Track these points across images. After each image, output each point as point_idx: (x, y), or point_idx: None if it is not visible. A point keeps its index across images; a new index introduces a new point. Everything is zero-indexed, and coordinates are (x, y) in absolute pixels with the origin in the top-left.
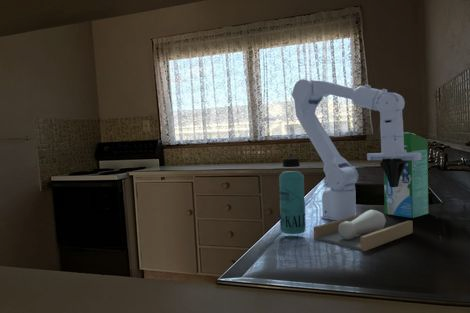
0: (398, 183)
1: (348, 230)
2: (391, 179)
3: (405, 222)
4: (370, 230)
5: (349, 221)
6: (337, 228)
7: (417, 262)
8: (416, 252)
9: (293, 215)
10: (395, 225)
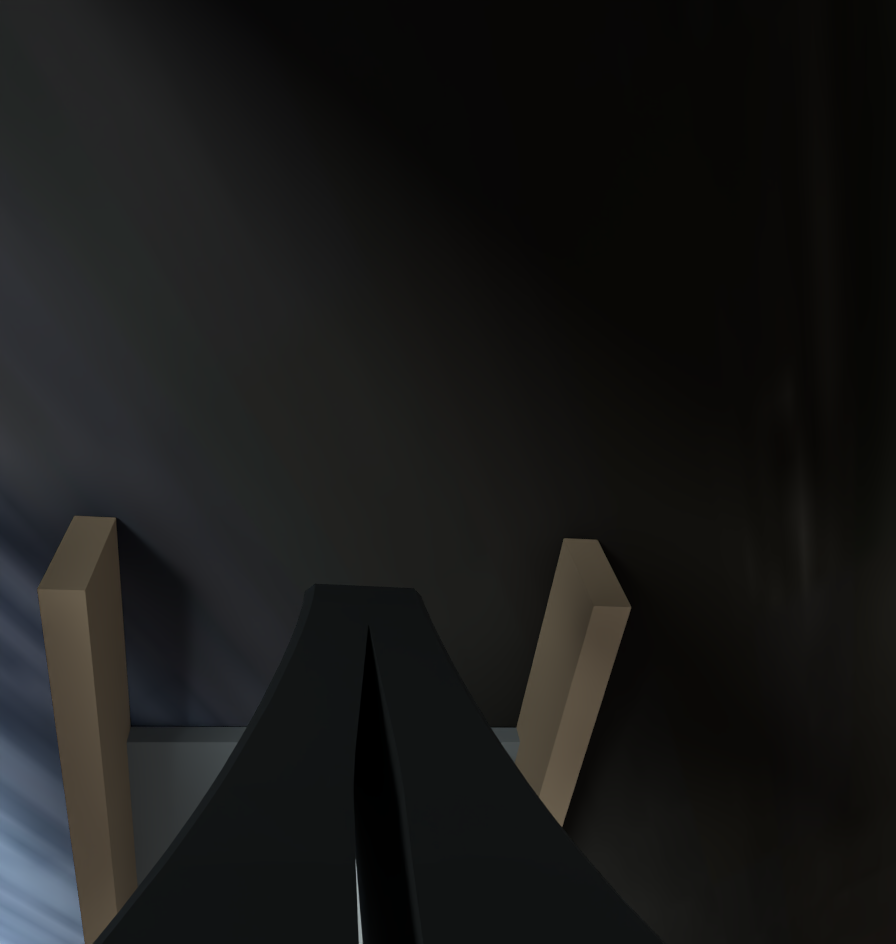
0: (431, 632)
1: None
2: (361, 879)
3: (591, 685)
4: None
5: (115, 797)
6: (131, 880)
7: (733, 937)
8: (707, 852)
9: None
10: (551, 793)
